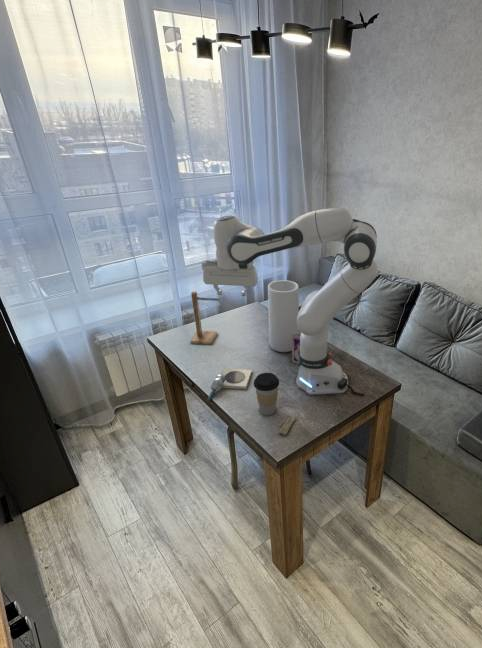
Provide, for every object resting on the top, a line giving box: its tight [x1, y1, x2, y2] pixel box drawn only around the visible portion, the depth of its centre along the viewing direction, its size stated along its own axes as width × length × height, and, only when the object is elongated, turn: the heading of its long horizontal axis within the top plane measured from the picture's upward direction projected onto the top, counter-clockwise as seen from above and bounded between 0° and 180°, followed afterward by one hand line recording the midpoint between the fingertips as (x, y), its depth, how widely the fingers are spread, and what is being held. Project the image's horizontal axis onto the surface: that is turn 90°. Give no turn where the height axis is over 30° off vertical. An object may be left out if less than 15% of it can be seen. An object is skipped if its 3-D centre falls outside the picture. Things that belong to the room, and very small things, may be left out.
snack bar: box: [278, 416, 297, 436], centre depth 146 cm, size 10×2×3 cm
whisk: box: [205, 373, 226, 403], centre depth 158 cm, size 4×6×21 cm
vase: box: [267, 279, 300, 353], centre depth 187 cm, size 14×14×32 cm
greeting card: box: [291, 333, 301, 365], centre depth 179 cm, size 11×7×15 cm, turn 66°
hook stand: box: [190, 291, 222, 345], centre depth 191 cm, size 15×10×25 cm, turn 88°
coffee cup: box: [253, 372, 280, 416], centre depth 150 cm, size 9×9×15 cm
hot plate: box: [221, 368, 253, 390], centre depth 169 cm, size 12×12×2 cm
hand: (232, 295), depth 154 cm, fingers open, 8 cm apart
